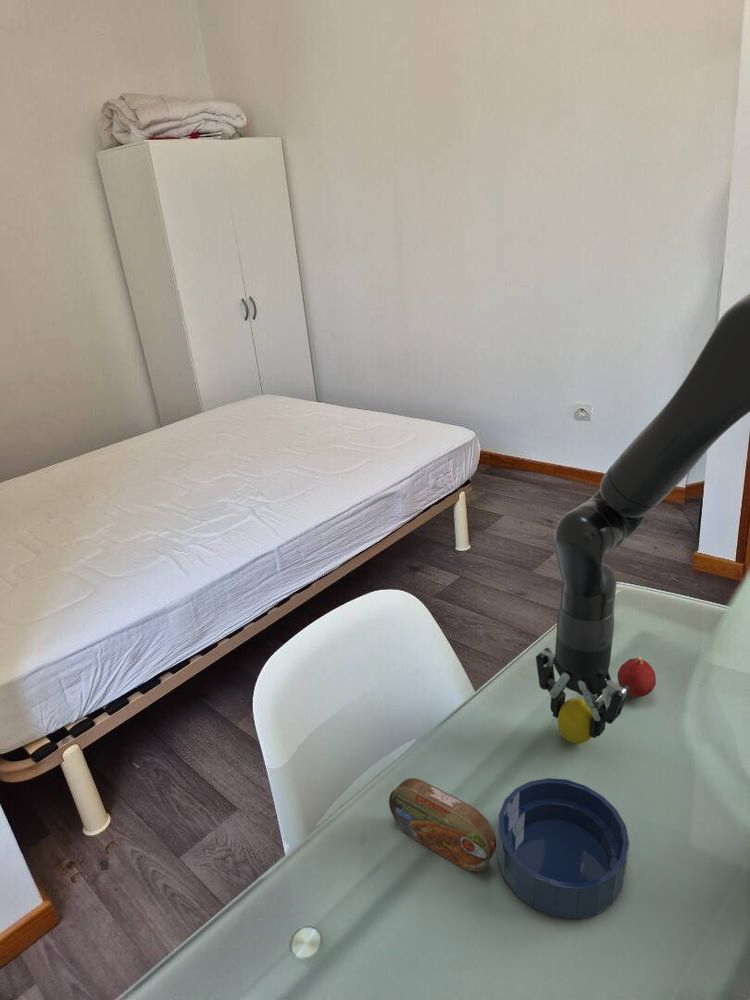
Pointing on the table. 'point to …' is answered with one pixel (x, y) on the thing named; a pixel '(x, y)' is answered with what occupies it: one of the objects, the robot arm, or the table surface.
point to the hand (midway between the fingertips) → (576, 723)
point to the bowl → (562, 848)
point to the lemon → (575, 721)
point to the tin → (443, 824)
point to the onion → (637, 677)
